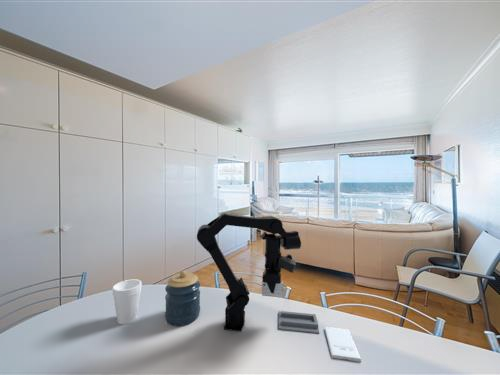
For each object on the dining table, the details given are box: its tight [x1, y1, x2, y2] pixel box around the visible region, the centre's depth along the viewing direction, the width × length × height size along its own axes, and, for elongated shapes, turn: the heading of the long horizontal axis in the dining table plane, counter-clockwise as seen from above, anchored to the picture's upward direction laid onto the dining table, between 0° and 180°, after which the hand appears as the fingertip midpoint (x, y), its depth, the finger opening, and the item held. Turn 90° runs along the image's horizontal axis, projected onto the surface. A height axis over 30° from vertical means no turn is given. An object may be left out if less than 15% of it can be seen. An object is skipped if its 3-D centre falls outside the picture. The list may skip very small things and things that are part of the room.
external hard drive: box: [324, 326, 362, 363], centre depth 67 cm, size 2×8×12 cm
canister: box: [164, 270, 201, 327], centre depth 81 cm, size 13×13×18 cm
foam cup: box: [112, 278, 143, 325], centre depth 79 cm, size 10×9×13 cm
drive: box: [261, 280, 285, 299], centre depth 79 cm, size 8×2×5 cm, turn 81°
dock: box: [278, 310, 320, 334], centre depth 78 cm, size 14×10×2 cm
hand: (272, 291), depth 79 cm, fingers closed on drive, 2 cm apart
